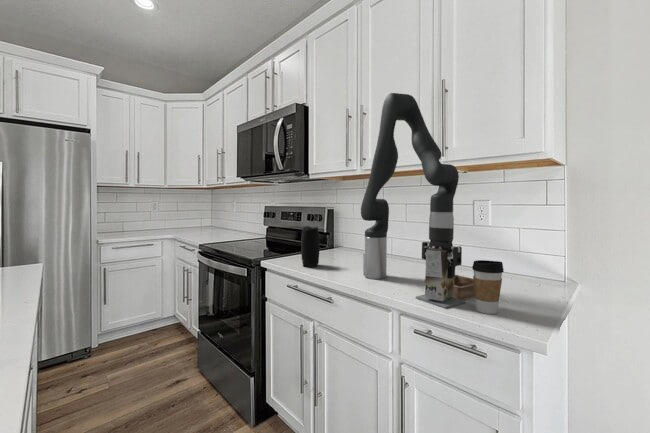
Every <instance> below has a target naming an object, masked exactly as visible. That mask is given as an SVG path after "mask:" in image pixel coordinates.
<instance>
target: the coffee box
mask: <svg viewBox="0 0 650 433" xmlns="http://www.w3.org/2000/svg"><path fill="white" fill-rule="evenodd" d="M451 252H452V251H451ZM452 254H453V252H452ZM425 255H426V260H425V272H424V274H425V277H424V278H425V279H424V294H425V298H429V299H434V300H438V301H445V300H446V299H448V298H450V297H451V296H453V295H454V278H451V279H449V278H448V267H449V266H448V260H447V258H448V257H451V253H450V251H449V252H448V251H447V250H440V249H438V248H436V249H434V248H429V249H426V253H425Z"/></svg>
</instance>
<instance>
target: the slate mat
mask: <svg viewBox="0 0 650 433" xmlns="http://www.w3.org/2000/svg"><path fill="white" fill-rule="evenodd" d="M415 299H417V300H419V301H422V302H425V303H428V304H431V305H433V306H437V307H440V308H442V309H445V310H446V309H448V308H452V307H455V306H456V307H457V306H460V305H464V304H466V303H467V302H466V300H465V299H462V300H460V299H457V298H454V297H450V298H448V299H446V300H445V301H438V300H434V299H429V298H425V293H423V294H421V295H416V296H415Z"/></svg>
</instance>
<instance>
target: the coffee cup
mask: <svg viewBox="0 0 650 433" xmlns="http://www.w3.org/2000/svg"><path fill="white" fill-rule="evenodd" d="M471 270H472V271H473V278H472V279H474V292H475V296H474V302H475V303H474V304H475V311H477V312H479V313H481V314H487V315H495V314H497V313H498V312H499V303H500V298H501V297H500V296H501V288H502V284H503V283H502V281H503V278H502V276H503V273H505V272H504V264H503V262H502V261H497V260H486V259H485V260H483V259H482V260H481V259H479V260H473V264H472V268H471Z"/></svg>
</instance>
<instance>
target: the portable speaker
mask: <svg viewBox="0 0 650 433" xmlns="http://www.w3.org/2000/svg"><path fill="white" fill-rule="evenodd" d="M300 239H301V240H300V244H301V247H300V248H301V250H300V251H301V252H300V253H301V260H302V261H301V262H302V267H305V266H308V267H309V268H316V267H317V266H318V265H319V264H320V263H319V260H320V234H319V226H315V225H314V226H309V225H304V226H302V230H301V237H300Z"/></svg>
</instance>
